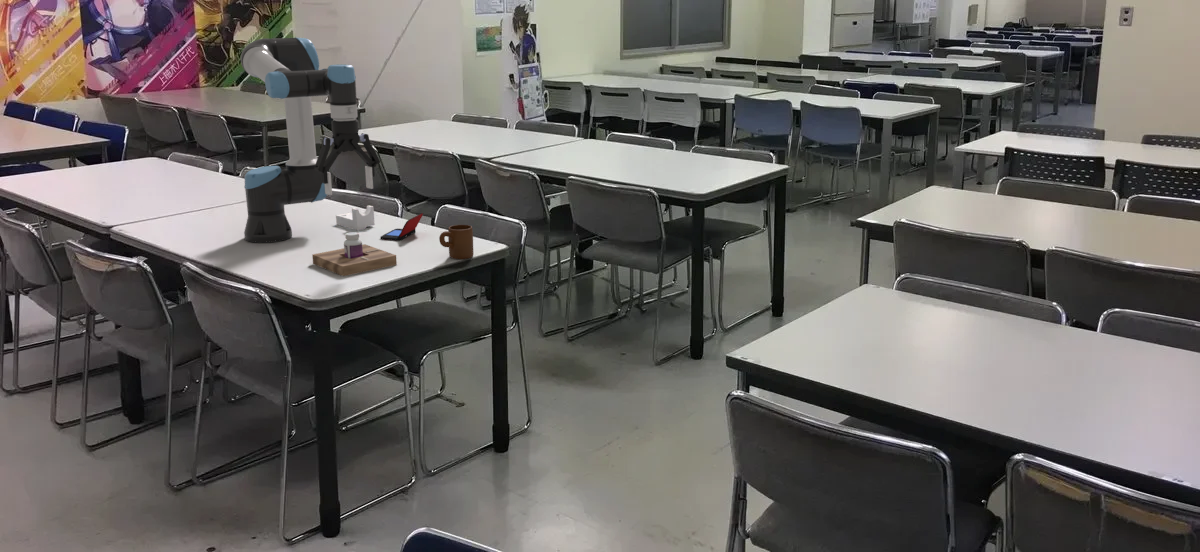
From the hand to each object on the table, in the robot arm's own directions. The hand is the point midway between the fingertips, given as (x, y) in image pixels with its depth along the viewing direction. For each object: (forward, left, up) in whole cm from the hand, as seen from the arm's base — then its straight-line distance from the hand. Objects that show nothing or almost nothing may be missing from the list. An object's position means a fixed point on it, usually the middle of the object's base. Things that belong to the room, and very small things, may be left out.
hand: (349, 191), depth 286 cm
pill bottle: (0, 0, -23) cm, 23 cm away
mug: (+15, +27, -23) cm, 38 cm away
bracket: (-45, +26, -23) cm, 57 cm away
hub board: (0, 0, -22) cm, 23 cm away
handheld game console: (-20, +30, -23) cm, 43 cm away
